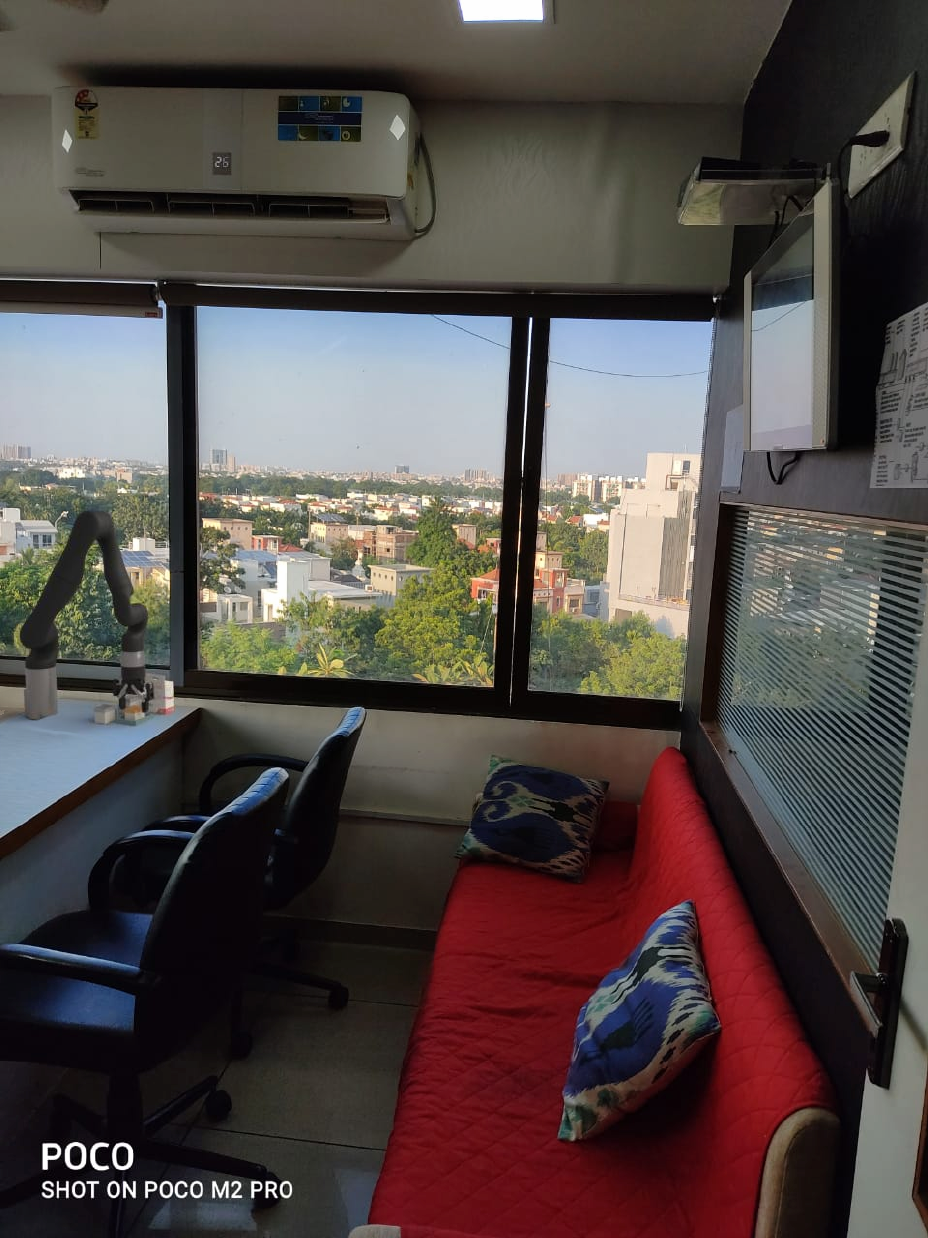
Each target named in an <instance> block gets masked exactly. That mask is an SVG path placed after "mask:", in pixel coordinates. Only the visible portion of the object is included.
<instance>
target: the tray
mask: <svg viewBox="0 0 928 1238" xmlns="http://www.w3.org/2000/svg"><path fill="white" fill-rule="evenodd" d="M153 719H154V713H151V712H145V717H143V718H141V719H138V720H136V721H134V720H127V719H125V714H124V715H122V716H119V717H117V718H115V722H114V724H120V725H127V726H135V727H137V726H139V725H142V724H143V723H146V722H148V721H152V720H153Z"/></svg>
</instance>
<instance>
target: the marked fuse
mask: <svg viewBox="0 0 928 1238" xmlns="http://www.w3.org/2000/svg"><path fill="white" fill-rule="evenodd" d="M124 712H125V719H127V720H134V721H136V720H138V719H141V718H143V717H145V713H146V712H145V713H142V705H140V706H138V705H133V706H130V707H128V708H125V709H124Z"/></svg>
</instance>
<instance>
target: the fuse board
mask: <svg viewBox="0 0 928 1238" xmlns="http://www.w3.org/2000/svg"><path fill="white" fill-rule="evenodd" d="M124 698H126V708H128V707H130V706H133V705H138V706H141V703H140V702H141V698H140V697H138V696H137V694H127V695H126V696H125V697H124ZM116 708H117V709H116ZM93 712H94V720H92V721H90V722H89V723H91V724H98V725H105V726H110V725H111V724H115V718H117V717H119V716H122V715H124V714H125V712H124V709H123V710H121V709H120V708H119V703H117V704H116V705H113V704H107V703H104V704H101V705H98V706H95V707H94V708H93Z"/></svg>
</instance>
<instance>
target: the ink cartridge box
mask: <svg viewBox="0 0 928 1238" xmlns="http://www.w3.org/2000/svg"><path fill="white" fill-rule="evenodd" d="M155 678H156V679H155ZM144 680H145V682H146V683H149V682H153V686H154V699H153V700H150V701H149V710H148V711H147V712H146V713H151V714H159V715H168V714H170V713H173V712H174V711H175V701H174V700H175V698H174V681H171V680H166V676H165V675H161V674H155V673H146V672H145V678H144ZM145 690H146V689H145Z"/></svg>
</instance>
